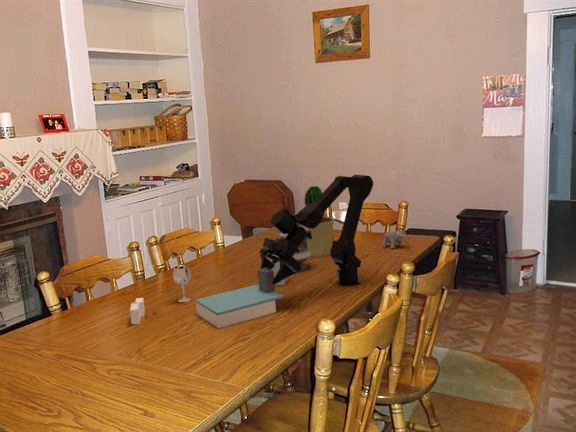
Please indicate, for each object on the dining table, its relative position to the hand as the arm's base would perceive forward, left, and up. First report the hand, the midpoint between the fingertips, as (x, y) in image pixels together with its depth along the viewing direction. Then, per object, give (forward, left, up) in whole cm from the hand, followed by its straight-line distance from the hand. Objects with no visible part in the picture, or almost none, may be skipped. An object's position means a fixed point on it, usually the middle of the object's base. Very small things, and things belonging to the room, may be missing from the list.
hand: (265, 280), depth 190 cm
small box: (-9, -23, -8) cm, 26 cm away
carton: (+11, +4, -8) cm, 14 cm away
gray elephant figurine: (-67, -51, -8) cm, 84 cm away
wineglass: (+26, -16, -8) cm, 32 cm away
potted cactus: (-33, -57, -8) cm, 66 cm away
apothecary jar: (-19, -38, -8) cm, 43 cm away
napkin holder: (+41, -4, -9) cm, 42 cm away
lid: (+9, +3, -7) cm, 12 cm away
